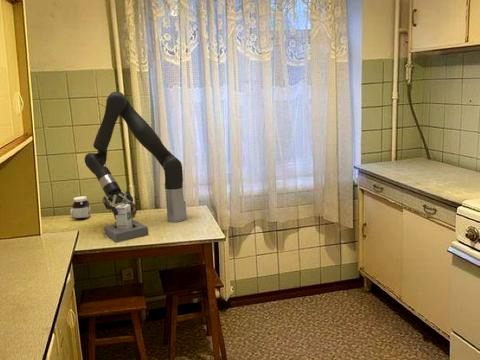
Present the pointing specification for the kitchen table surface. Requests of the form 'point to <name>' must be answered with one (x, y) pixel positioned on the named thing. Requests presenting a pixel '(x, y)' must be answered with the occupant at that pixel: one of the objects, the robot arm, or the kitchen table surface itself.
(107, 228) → the gray square frame
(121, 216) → the syrup box
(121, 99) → the robot arm
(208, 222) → the kitchen table surface
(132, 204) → the brown lumpy slab
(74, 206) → the spread jar
